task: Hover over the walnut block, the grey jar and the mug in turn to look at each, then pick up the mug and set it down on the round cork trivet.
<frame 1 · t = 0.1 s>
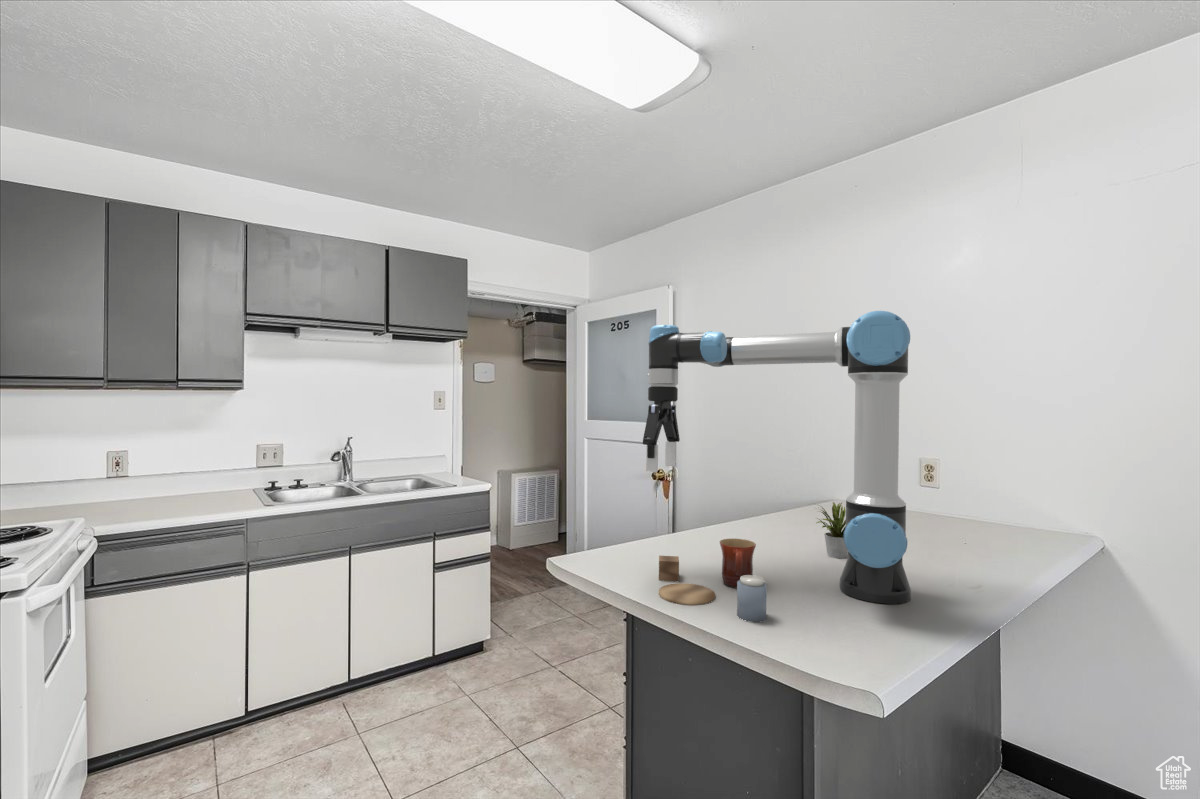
hand: (661, 468, 142), 28 cm above the worktop, tool pointing down, fingers open, 13 cm apart
trivet: (686, 594, 129), on the worktop
jar: (751, 616, 116), on the worktop
house plant: (833, 555, 166), on the worktop
block: (668, 578, 142), on the worktop
mug: (737, 587, 136), on the worktop
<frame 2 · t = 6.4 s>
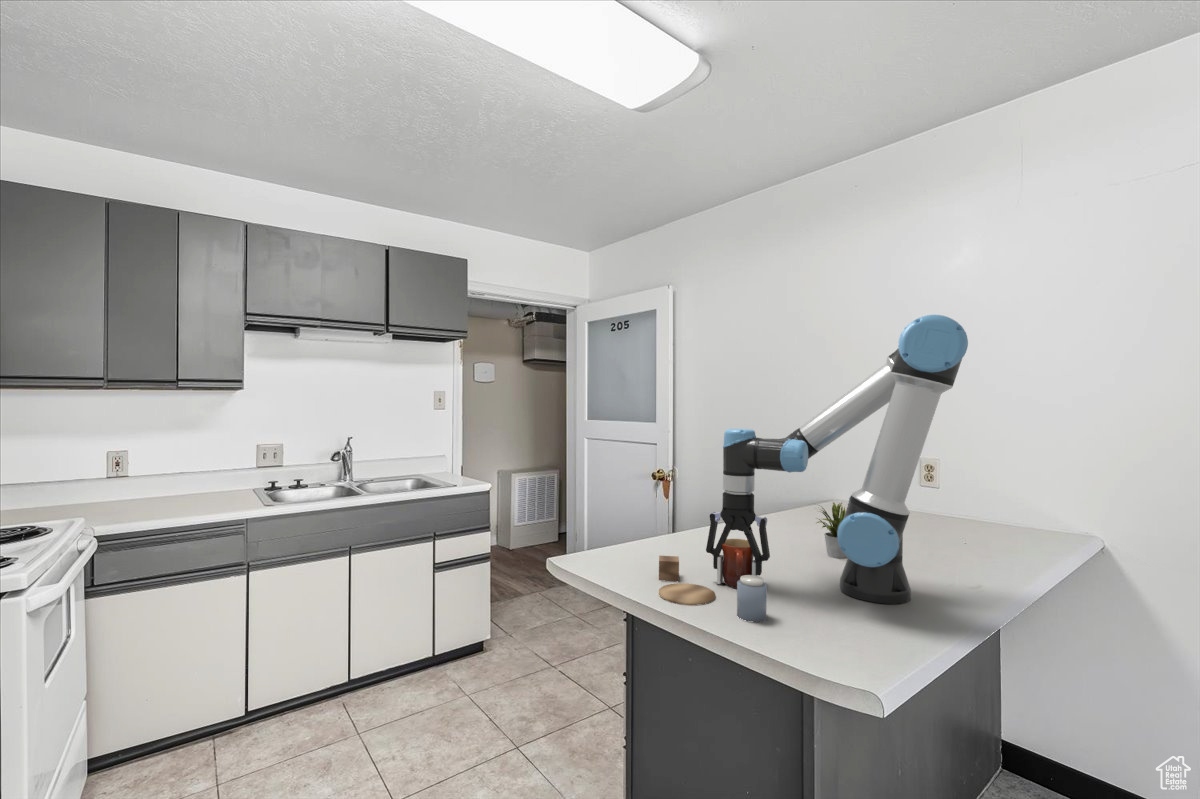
hand: (736, 585, 136), 0 cm above the worktop, tool pointing down, fingers closed on mug, 8 cm apart
mug: (738, 587, 136), on the worktop, touching gripper
everything else where it was.
when the fingers open (2 cm above the worktop, at t = 12.2 s): mug drops 1 cm, resting on trivet.
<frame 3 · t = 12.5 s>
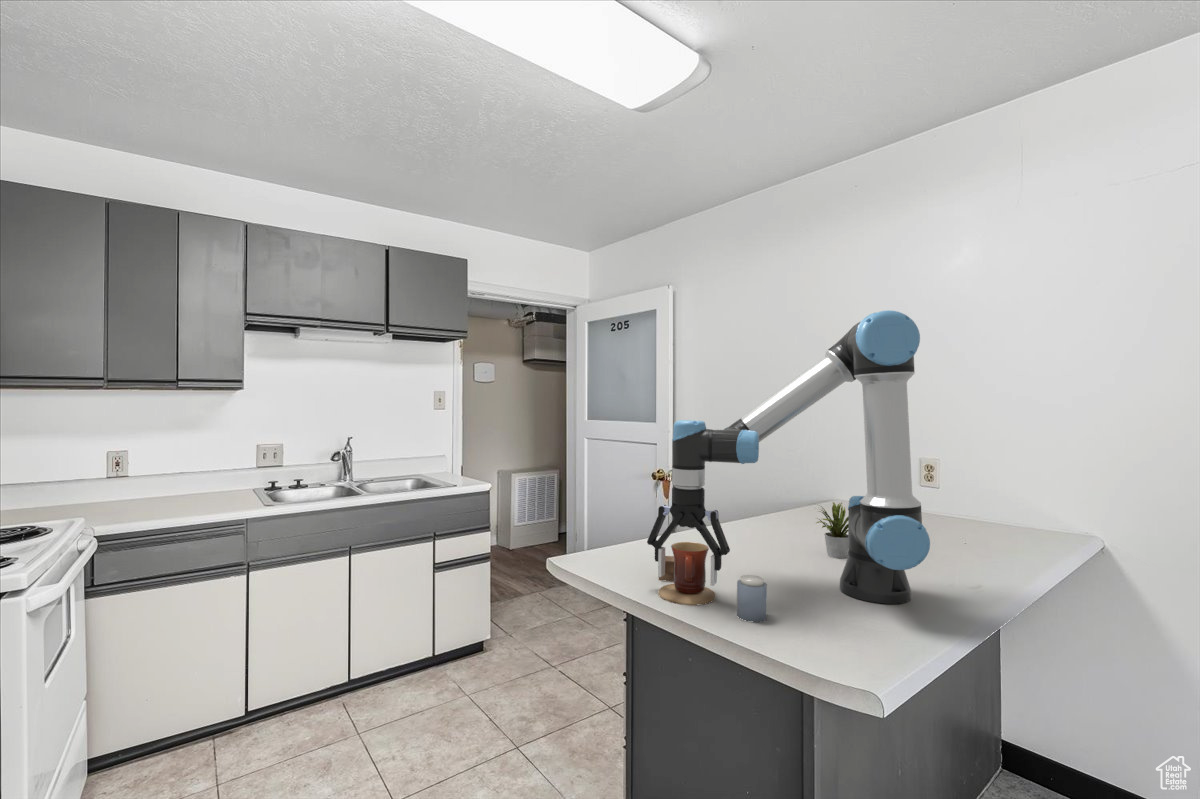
hand: (687, 579, 129), 4 cm above the worktop, tool pointing down, fingers open, 12 cm apart
mug: (689, 593, 129), resting on trivet
everything else where it was.
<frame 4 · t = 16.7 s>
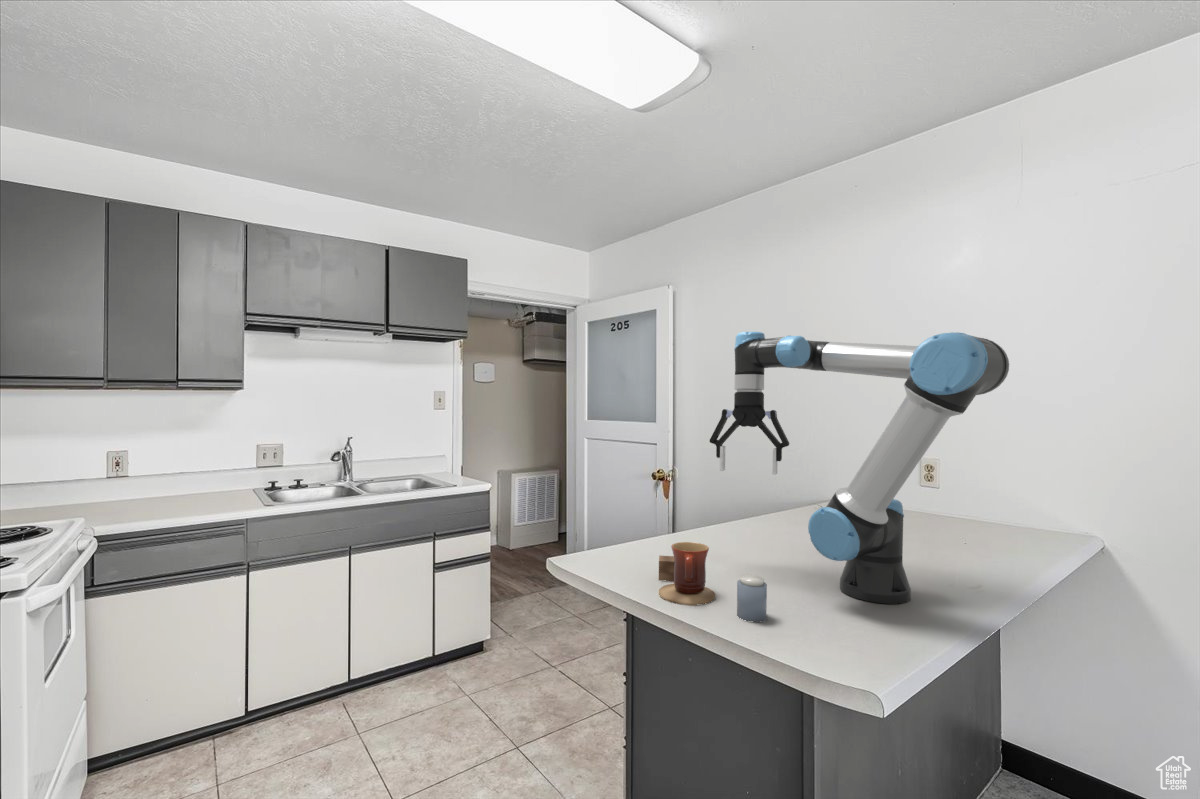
hand: (748, 472, 146), 27 cm above the worktop, tool pointing down, fingers open, 13 cm apart
nothing on the worktop moved.
at the end: mug 0.5 cm from the trivet (horizontally); mug tilted 0°; the gripper is holding nothing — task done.
